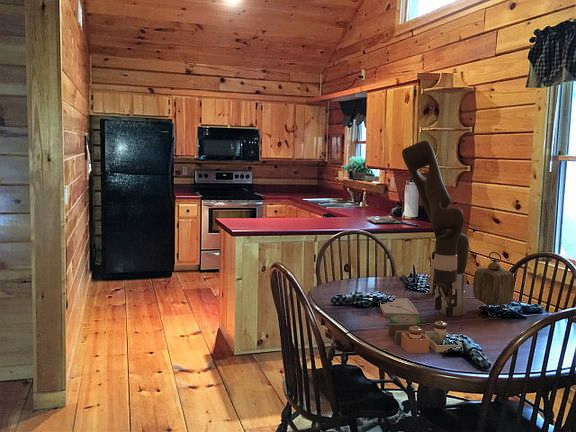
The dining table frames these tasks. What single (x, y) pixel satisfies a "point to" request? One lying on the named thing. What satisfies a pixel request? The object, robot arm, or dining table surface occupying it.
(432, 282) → the travel mug
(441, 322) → the cell
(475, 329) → the dining table surface
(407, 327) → the cradle
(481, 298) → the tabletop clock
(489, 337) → the dining table surface
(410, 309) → the envelope
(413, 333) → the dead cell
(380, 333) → the dining table surface
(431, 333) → the trough
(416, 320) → the tape roll
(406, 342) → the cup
